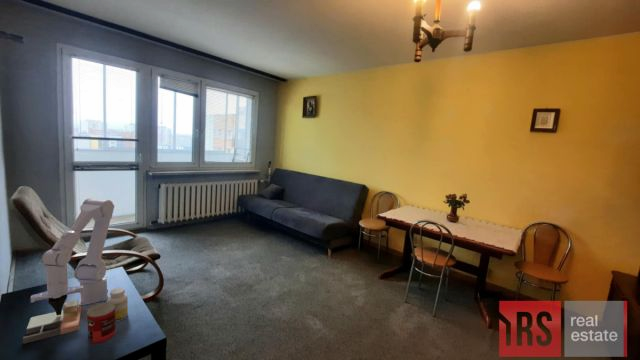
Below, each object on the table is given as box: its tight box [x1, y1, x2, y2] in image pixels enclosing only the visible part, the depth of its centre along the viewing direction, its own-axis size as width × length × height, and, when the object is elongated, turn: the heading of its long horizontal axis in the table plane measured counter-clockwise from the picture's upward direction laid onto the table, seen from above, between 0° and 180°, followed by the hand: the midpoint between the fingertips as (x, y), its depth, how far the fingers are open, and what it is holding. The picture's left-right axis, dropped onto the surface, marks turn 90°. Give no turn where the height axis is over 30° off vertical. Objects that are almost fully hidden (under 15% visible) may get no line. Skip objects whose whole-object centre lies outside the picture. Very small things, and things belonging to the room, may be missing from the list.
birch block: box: [62, 300, 79, 318], centre depth 111 cm, size 4×4×4 cm
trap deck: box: [22, 306, 82, 345], centre depth 107 cm, size 14×14×2 cm
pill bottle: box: [107, 287, 129, 323], centre depth 113 cm, size 6×6×12 cm
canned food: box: [86, 302, 116, 344], centre depth 103 cm, size 8×8×11 cm
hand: (59, 313), depth 109 cm, fingers closed
